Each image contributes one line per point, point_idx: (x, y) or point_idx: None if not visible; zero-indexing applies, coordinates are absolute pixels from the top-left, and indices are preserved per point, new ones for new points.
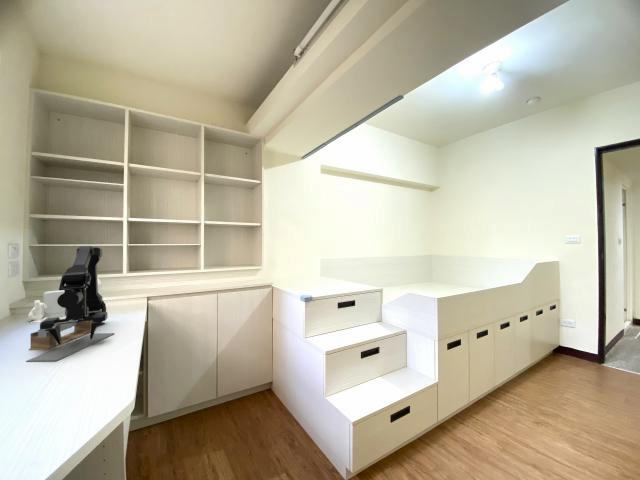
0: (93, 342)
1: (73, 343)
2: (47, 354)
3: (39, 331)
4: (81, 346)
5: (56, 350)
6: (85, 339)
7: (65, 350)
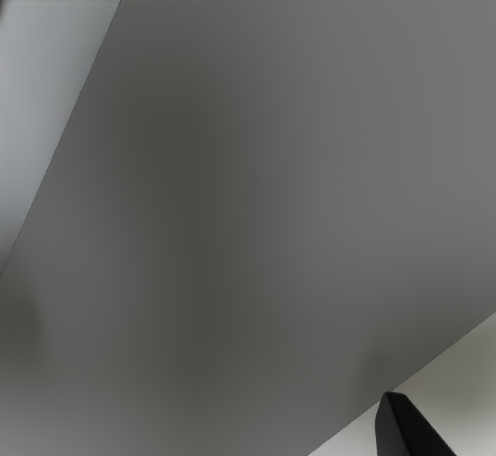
0: (401, 378)
1: (140, 228)
2: (7, 441)
3: None
4: (269, 429)
5: (37, 382)
6: (287, 110)
7: (134, 443)
